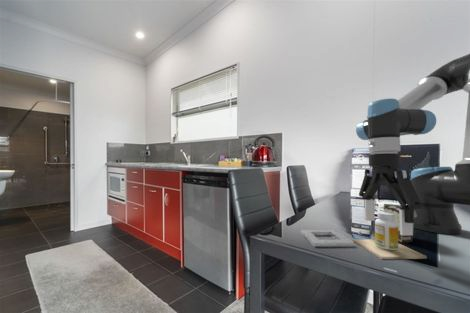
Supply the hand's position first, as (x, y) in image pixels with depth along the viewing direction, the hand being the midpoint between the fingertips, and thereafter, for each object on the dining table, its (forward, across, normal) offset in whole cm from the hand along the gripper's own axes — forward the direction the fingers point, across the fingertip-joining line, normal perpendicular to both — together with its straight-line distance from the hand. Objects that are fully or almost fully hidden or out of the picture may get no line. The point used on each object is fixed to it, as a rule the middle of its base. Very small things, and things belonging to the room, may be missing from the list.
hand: (386, 226), depth 59 cm
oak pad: (+6, 0, 0) cm, 6 cm away
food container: (+7, -9, +13) cm, 17 cm away
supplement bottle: (+6, 0, 0) cm, 6 cm away
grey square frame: (+6, -8, -14) cm, 17 cm away
